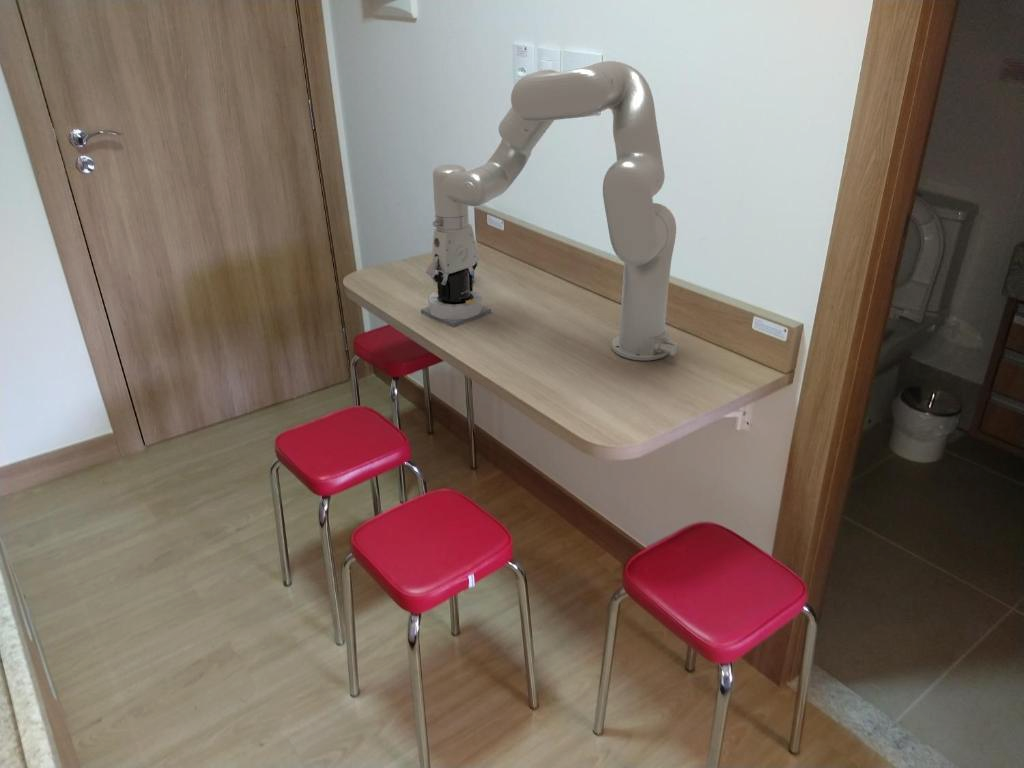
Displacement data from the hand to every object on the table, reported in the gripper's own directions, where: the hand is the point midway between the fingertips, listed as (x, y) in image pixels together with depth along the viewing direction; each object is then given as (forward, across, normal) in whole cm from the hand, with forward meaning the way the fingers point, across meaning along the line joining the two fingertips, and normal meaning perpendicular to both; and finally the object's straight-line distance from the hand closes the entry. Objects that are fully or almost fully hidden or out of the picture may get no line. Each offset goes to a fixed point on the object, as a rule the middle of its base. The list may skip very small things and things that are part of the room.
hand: (455, 293), depth 189 cm
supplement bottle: (+3, 0, 0) cm, 3 cm away
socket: (+5, 0, 0) cm, 5 cm away
